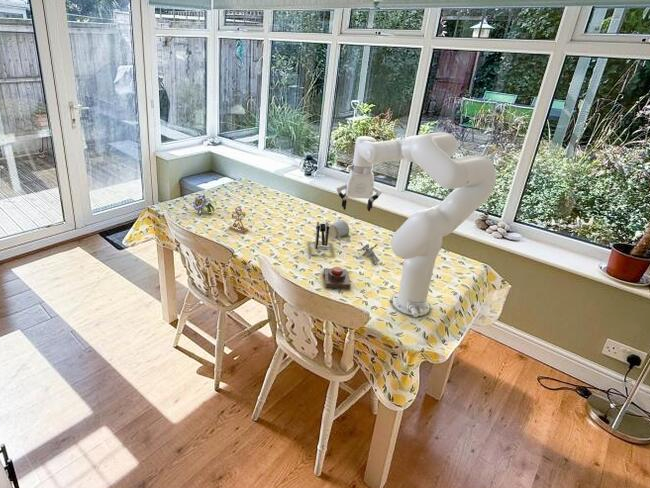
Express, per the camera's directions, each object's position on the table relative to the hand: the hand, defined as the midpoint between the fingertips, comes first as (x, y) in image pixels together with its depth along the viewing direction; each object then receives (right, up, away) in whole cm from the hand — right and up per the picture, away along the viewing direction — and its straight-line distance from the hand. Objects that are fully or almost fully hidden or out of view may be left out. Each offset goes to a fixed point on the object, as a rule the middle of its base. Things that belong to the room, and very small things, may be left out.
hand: (356, 209), depth 165 cm
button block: (-9, -28, -3) cm, 30 cm away
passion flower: (-68, -2, +58) cm, 89 cm away
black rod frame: (-11, -19, +20) cm, 29 cm away
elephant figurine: (+10, -22, +13) cm, 27 cm away
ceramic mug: (0, -14, +31) cm, 34 cm away
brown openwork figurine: (-49, -11, +38) cm, 62 cm away
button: (-9, -25, -5) cm, 27 cm away
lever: (-11, -13, +14) cm, 22 cm away
